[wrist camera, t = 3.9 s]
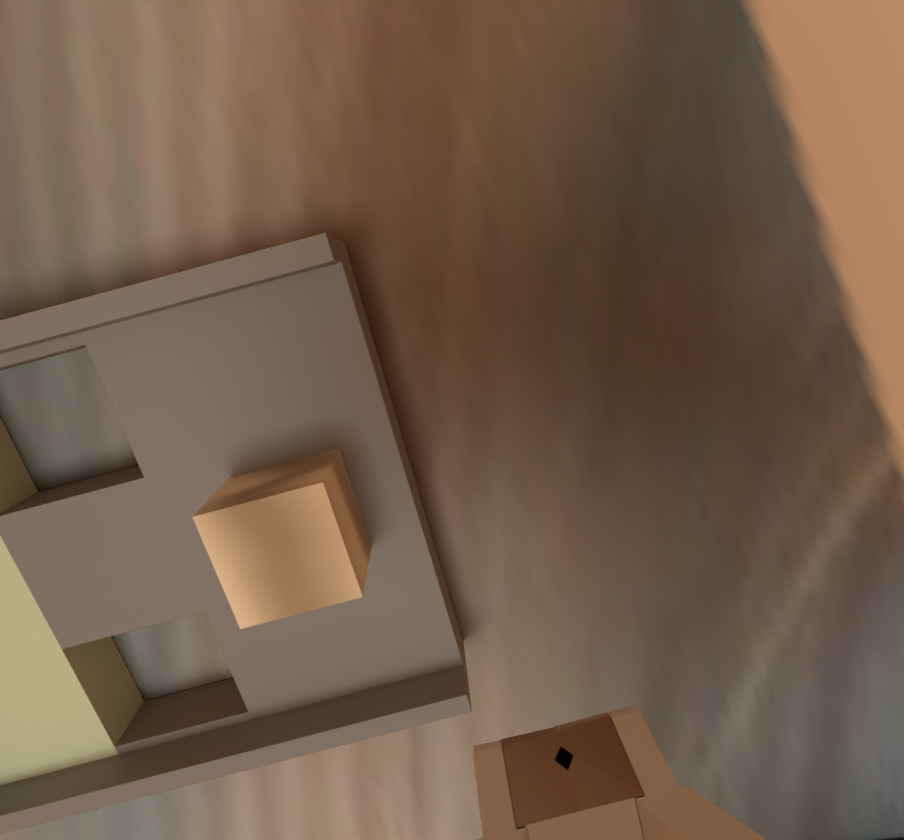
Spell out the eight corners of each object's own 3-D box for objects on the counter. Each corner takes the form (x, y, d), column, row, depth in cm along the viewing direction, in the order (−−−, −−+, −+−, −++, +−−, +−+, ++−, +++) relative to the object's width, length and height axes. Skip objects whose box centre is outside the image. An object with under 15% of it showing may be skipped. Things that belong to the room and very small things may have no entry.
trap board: (344, 241, 24) (325, 232, 19) (463, 641, 30) (471, 711, 25) (-205, 389, 24) (-358, 417, 20) (19, 757, 30) (-58, 849, 25)
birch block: (338, 448, 23) (322, 482, 20) (371, 547, 25) (362, 596, 21) (229, 477, 24) (192, 516, 20) (268, 574, 25) (240, 629, 21)
